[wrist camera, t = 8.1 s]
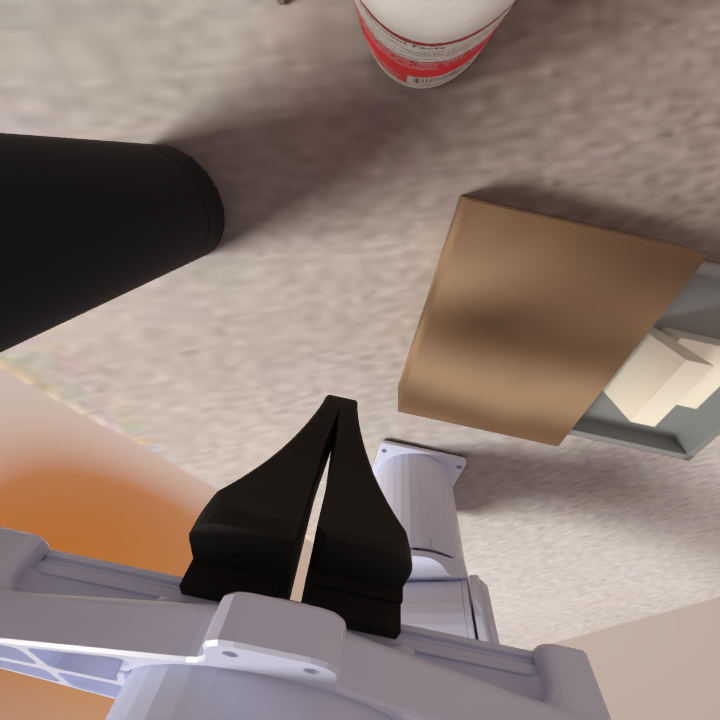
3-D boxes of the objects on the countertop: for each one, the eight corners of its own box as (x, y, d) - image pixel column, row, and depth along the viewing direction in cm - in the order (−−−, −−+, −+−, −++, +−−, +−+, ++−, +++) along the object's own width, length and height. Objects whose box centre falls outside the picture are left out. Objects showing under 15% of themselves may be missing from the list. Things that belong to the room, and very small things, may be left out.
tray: (669, 440, 25) (688, 460, 24) (549, 414, 25) (559, 432, 23) (830, 288, 18) (875, 301, 16) (664, 251, 18) (691, 260, 16)
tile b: (631, 394, 21) (618, 381, 22) (696, 409, 21) (679, 395, 22) (681, 337, 19) (663, 326, 20) (753, 353, 19) (731, 341, 20)
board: (542, 418, 25) (558, 446, 23) (398, 386, 25) (397, 411, 23) (665, 241, 18) (709, 254, 15) (460, 195, 18) (470, 200, 15)
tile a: (591, 378, 22) (611, 382, 23) (630, 421, 19) (654, 426, 19) (632, 322, 20) (655, 327, 20) (686, 360, 16) (714, 366, 16)
